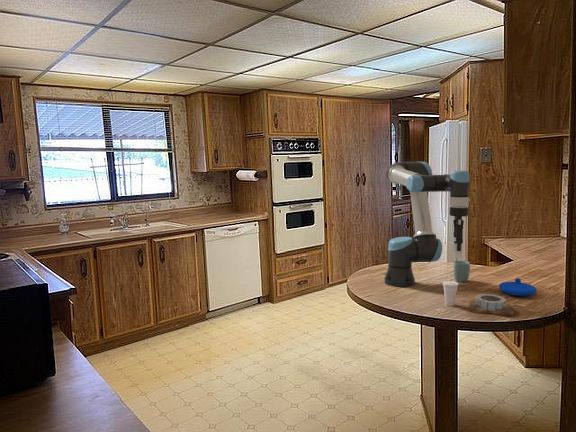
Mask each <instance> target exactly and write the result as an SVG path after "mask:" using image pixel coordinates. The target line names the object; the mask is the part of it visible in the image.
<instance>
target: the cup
mask: <svg viewBox="0 0 576 432" xmlns="http://www.w3.org/2000/svg"><path fill="white" fill-rule="evenodd" d="M470 273H471V263H470V261H468V260H461V259H460V260H459V259H458V260H454V261H453V279H455V281H457V282H459V283H460V282H461V283H465V282H467V281H468V280H469V277H470Z"/></svg>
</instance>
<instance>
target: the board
mask: <svg viewBox="0 0 576 432" xmlns="http://www.w3.org/2000/svg"><path fill="white" fill-rule="evenodd" d="M468 305H469V312H470V313H478V312H480V314H488V313H491V315H499V314H500V316H501V315H502V316H509V315H513V316H514V311H513V309H512V307H511V304H510V303H507V302H506V309H505V310H502V311H489V310H484V309H480V308H478V307H476V305H475V300H471V299H470V300H468ZM492 313H493V314H492Z"/></svg>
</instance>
